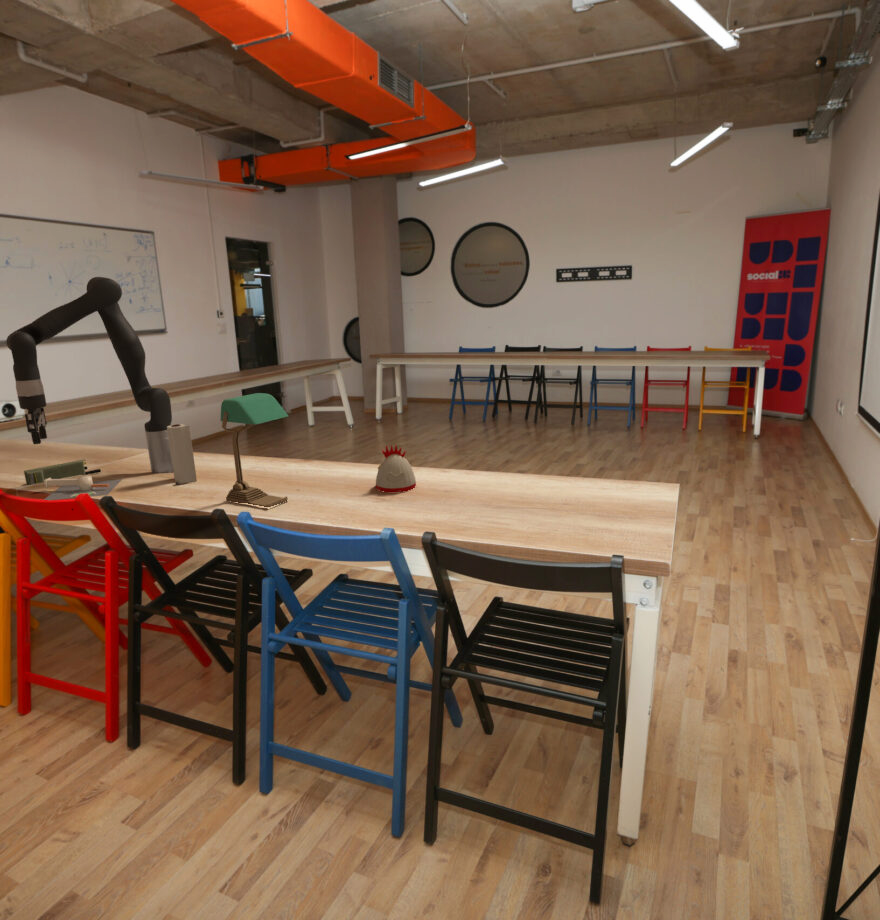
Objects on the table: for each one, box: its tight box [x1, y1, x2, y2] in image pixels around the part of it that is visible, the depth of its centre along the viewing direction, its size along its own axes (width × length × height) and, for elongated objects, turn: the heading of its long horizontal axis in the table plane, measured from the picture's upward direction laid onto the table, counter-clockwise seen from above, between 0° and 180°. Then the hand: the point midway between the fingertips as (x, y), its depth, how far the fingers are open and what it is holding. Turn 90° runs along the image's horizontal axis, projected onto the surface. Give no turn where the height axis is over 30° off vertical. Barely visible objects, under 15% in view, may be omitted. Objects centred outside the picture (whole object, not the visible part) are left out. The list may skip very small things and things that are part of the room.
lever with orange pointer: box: [43, 475, 109, 491], centre depth 218 cm, size 22×4×4 cm, turn 88°
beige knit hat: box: [375, 444, 417, 493], centre depth 213 cm, size 14×14×15 cm
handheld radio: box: [23, 459, 102, 486], centre depth 235 cm, size 7×3×25 cm
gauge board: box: [43, 478, 123, 501], centre depth 219 cm, size 20×20×2 cm
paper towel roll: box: [167, 423, 198, 485], centre depth 225 cm, size 7×6×21 cm
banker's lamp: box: [220, 392, 289, 507], centre depth 198 cm, size 16×21×35 cm
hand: (40, 441), depth 208 cm, fingers open, 8 cm apart
